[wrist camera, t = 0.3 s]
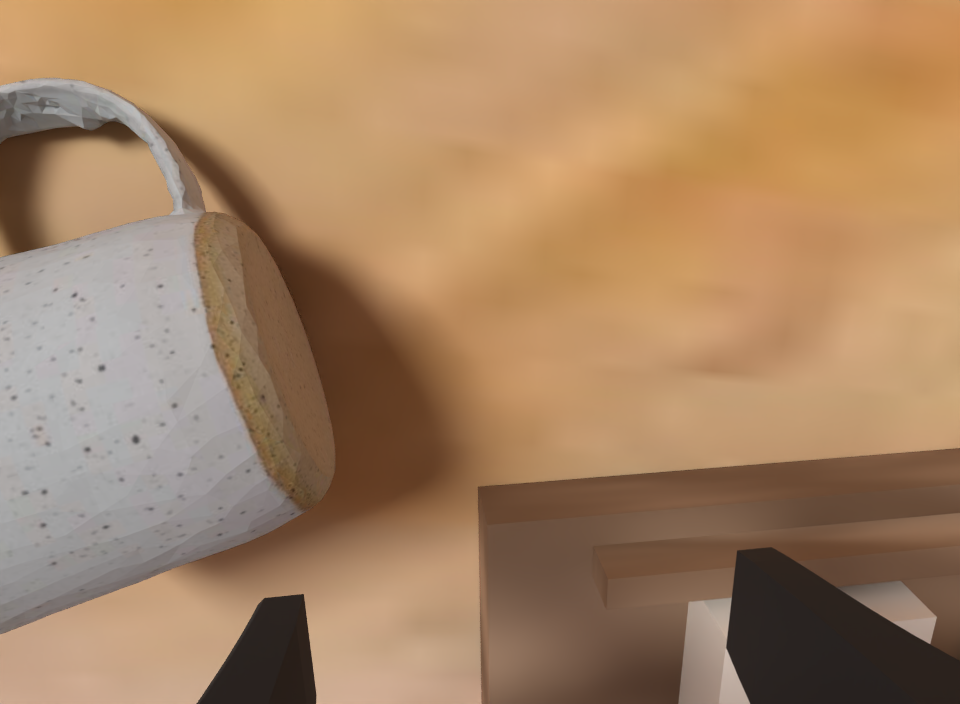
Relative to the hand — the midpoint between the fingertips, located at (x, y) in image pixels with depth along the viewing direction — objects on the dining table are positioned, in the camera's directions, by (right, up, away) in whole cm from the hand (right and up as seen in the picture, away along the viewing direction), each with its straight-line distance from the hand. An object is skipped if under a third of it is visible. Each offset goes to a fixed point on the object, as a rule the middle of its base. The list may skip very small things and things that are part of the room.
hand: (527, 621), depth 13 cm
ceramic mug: (-10, +6, +7) cm, 14 cm away
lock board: (+8, -6, +14) cm, 17 cm away
